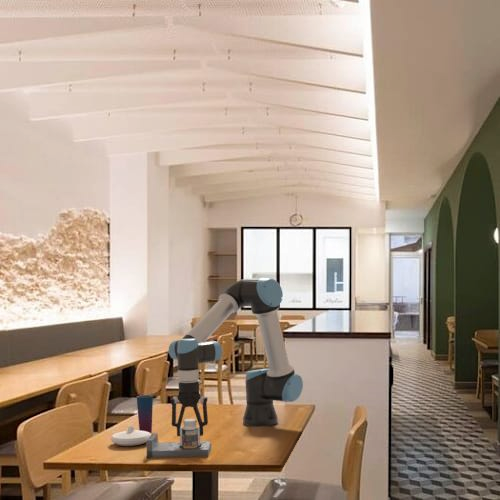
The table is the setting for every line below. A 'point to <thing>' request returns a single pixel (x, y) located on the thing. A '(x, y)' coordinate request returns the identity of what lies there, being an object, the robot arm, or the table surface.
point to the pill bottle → (190, 434)
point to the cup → (145, 412)
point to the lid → (130, 437)
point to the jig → (174, 449)
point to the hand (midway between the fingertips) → (190, 444)
